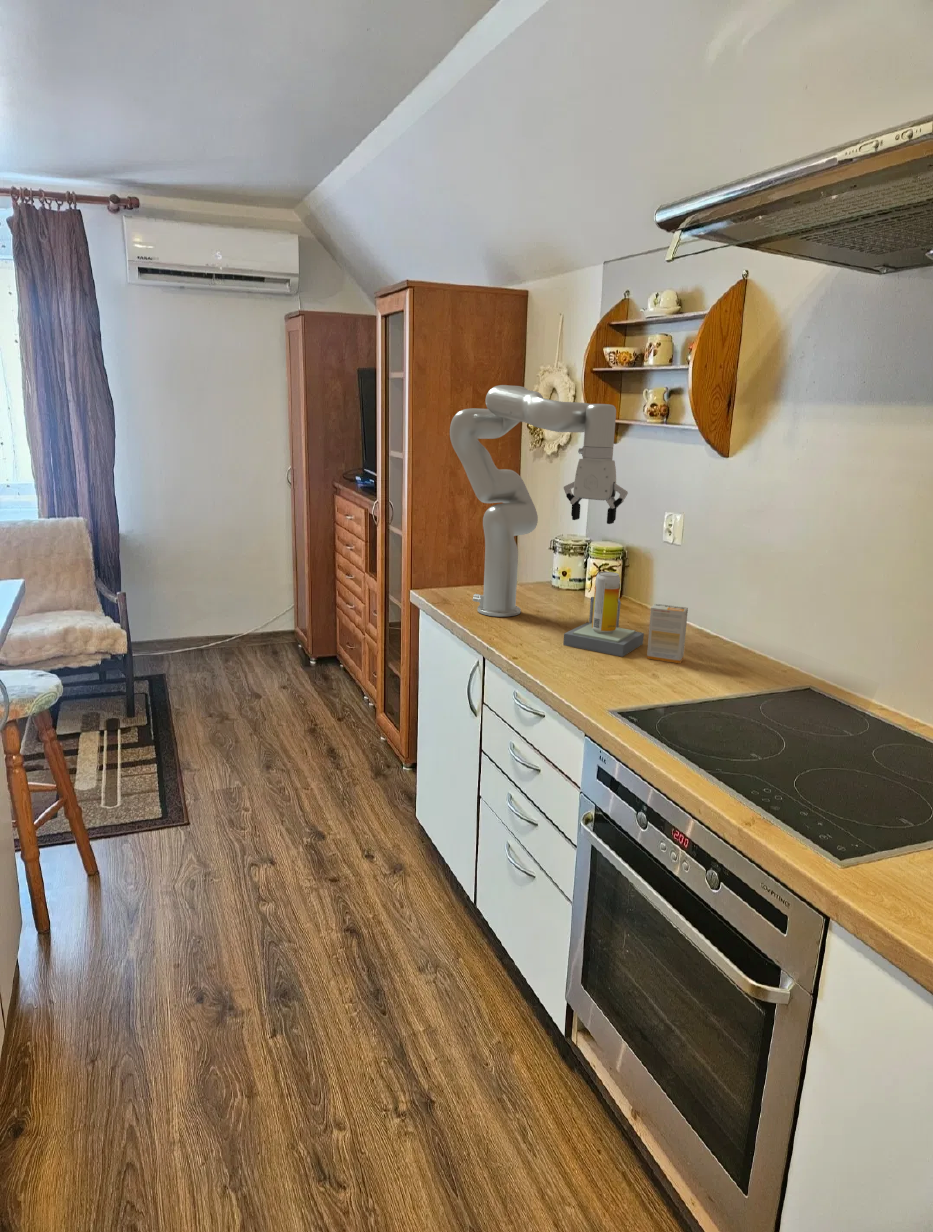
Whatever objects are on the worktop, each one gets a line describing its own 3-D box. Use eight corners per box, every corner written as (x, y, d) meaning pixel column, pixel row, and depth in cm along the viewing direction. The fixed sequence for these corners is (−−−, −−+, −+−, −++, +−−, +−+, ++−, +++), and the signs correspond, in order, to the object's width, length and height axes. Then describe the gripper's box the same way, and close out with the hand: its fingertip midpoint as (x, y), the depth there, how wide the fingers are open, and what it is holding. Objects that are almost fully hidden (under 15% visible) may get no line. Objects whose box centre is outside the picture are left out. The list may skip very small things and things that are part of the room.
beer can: (619, 631, 209) (625, 574, 205) (607, 635, 205) (612, 577, 201) (599, 626, 213) (604, 570, 209) (586, 630, 208) (591, 573, 205)
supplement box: (683, 659, 200) (689, 607, 196) (680, 664, 195) (685, 611, 192) (650, 653, 203) (655, 602, 200) (645, 658, 199) (650, 606, 195)
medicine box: (617, 628, 226) (619, 597, 224) (618, 632, 222) (621, 601, 219) (588, 626, 226) (590, 596, 224) (589, 630, 222) (591, 599, 220)
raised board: (563, 644, 208) (564, 631, 207) (586, 633, 219) (586, 620, 218) (622, 656, 200) (623, 643, 199) (642, 644, 211) (644, 631, 210)
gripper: (560, 452, 208) (556, 519, 212) (624, 456, 199) (618, 526, 203) (573, 451, 214) (568, 516, 218) (635, 455, 205) (629, 523, 210)
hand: (592, 521), depth 211 cm, fingers open, 9 cm apart
